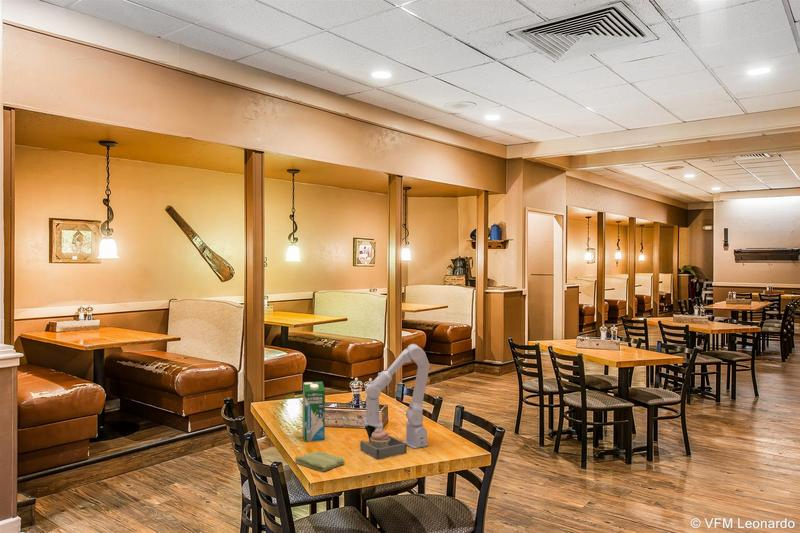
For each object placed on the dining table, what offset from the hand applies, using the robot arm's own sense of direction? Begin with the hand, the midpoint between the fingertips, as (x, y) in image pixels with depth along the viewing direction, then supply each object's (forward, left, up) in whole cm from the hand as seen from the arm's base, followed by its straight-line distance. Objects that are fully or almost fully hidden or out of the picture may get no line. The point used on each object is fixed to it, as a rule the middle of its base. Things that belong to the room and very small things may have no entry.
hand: (372, 442), depth 251 cm
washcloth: (-7, +29, -2) cm, 30 cm away
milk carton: (+24, +17, -2) cm, 29 cm away
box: (-9, 0, -1) cm, 9 cm away
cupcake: (-6, 0, -2) cm, 6 cm away
